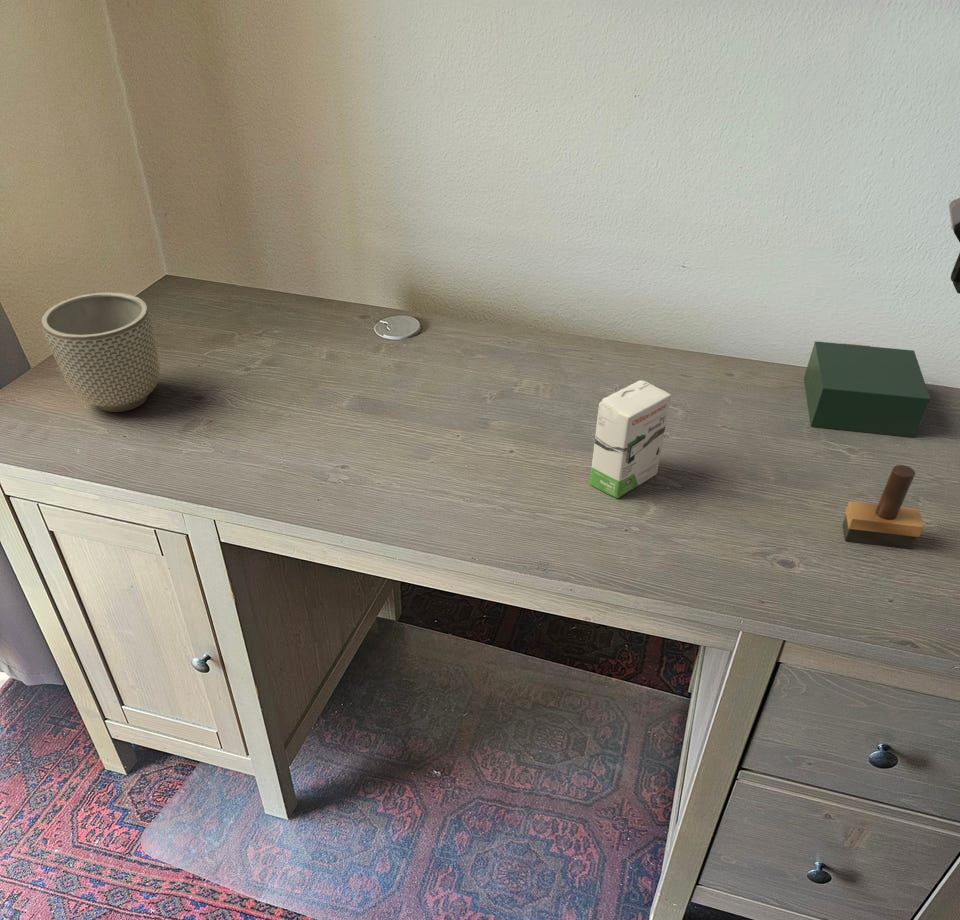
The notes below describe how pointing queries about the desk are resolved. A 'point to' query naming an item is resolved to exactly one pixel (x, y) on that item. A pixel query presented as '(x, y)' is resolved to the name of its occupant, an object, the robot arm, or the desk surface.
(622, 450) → the ink box
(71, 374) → the planter
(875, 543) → the brush
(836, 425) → the enamel box
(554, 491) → the desk surface
